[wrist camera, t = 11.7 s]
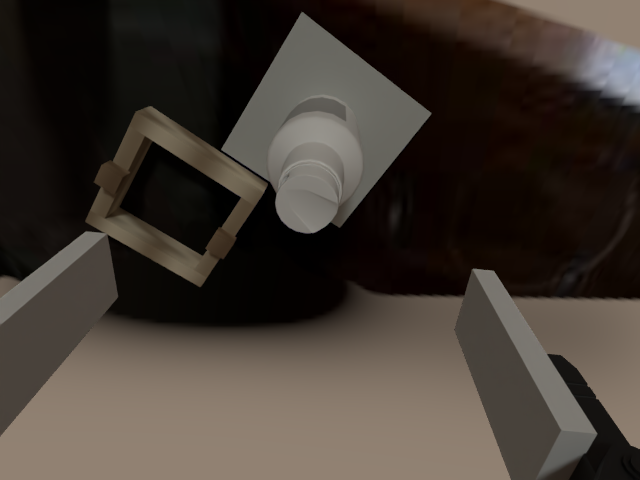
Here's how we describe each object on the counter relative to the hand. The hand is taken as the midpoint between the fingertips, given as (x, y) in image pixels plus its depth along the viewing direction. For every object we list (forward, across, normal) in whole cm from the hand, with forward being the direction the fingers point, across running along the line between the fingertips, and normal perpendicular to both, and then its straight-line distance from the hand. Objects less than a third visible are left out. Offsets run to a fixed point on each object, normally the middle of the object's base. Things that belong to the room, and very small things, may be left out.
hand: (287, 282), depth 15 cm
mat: (+26, 0, 0) cm, 26 cm away
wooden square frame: (+26, -14, -8) cm, 31 cm away
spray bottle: (+26, 0, 0) cm, 26 cm away
